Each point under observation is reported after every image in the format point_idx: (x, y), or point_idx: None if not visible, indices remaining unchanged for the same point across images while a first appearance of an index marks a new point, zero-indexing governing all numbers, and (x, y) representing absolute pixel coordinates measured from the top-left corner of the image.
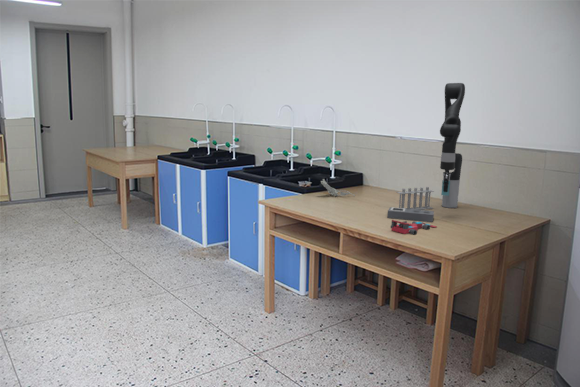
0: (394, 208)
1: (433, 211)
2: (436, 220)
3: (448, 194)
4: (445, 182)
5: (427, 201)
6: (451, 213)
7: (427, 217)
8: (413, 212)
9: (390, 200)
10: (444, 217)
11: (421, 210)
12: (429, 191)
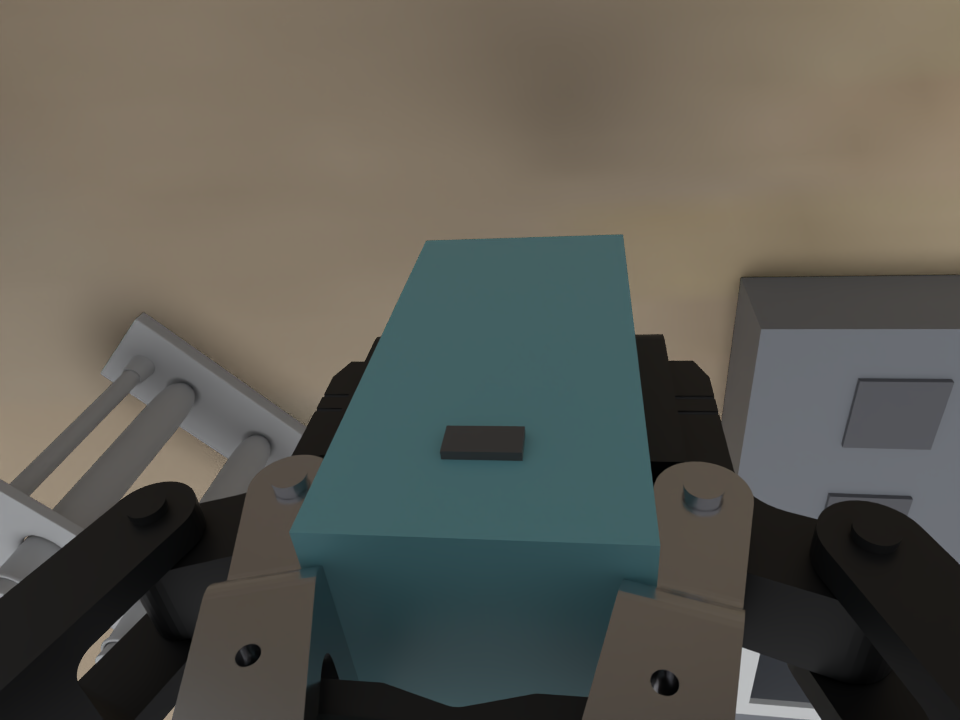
0: (748, 690)
1: (793, 333)
2: (885, 229)
3: (623, 259)
4: (855, 665)
5: (145, 429)
6: (274, 47)
7: None
8: (945, 548)
9: (93, 646)
10: (626, 132)
11: (772, 473)
12: (66, 527)
